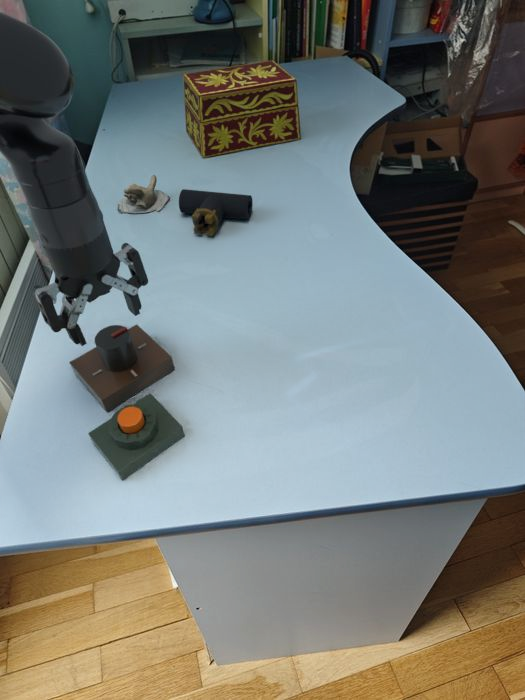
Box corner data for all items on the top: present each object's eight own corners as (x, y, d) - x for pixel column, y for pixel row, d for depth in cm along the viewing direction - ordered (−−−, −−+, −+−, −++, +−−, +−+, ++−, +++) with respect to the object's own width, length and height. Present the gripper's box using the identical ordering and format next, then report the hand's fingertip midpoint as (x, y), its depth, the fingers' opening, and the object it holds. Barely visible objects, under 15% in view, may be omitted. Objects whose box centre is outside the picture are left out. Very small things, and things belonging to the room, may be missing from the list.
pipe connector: (237, 218, 95) (165, 210, 98) (238, 241, 99) (170, 233, 102) (251, 190, 103) (185, 184, 106) (253, 212, 107) (188, 206, 109)
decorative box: (276, 115, 143) (276, 57, 132) (301, 139, 131) (302, 79, 120) (185, 131, 137) (177, 73, 126) (202, 158, 125) (194, 96, 114)
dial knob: (114, 377, 71) (104, 353, 67) (97, 358, 74) (87, 335, 70) (143, 359, 73) (135, 335, 69) (126, 342, 76) (117, 318, 72)
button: (128, 438, 63) (125, 430, 62) (116, 423, 65) (112, 415, 63) (149, 424, 64) (146, 416, 63) (136, 410, 66) (133, 402, 65)
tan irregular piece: (174, 198, 113) (170, 173, 110) (150, 218, 105) (145, 191, 101) (136, 195, 116) (131, 170, 112) (110, 214, 107) (103, 188, 104)
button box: (122, 480, 63) (114, 464, 60) (92, 442, 67) (83, 425, 64) (185, 435, 67) (180, 418, 64) (153, 402, 71) (147, 385, 68)
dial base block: (107, 412, 70) (101, 399, 68) (75, 374, 76) (68, 361, 73) (175, 369, 76) (171, 356, 73) (140, 336, 81) (136, 323, 79)
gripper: (108, 193, 62) (137, 291, 74) (-1, 239, 56) (50, 338, 67) (140, 216, 58) (165, 315, 70) (26, 268, 52) (75, 367, 63)
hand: (108, 326), depth 69 cm, fingers open, 8 cm apart
